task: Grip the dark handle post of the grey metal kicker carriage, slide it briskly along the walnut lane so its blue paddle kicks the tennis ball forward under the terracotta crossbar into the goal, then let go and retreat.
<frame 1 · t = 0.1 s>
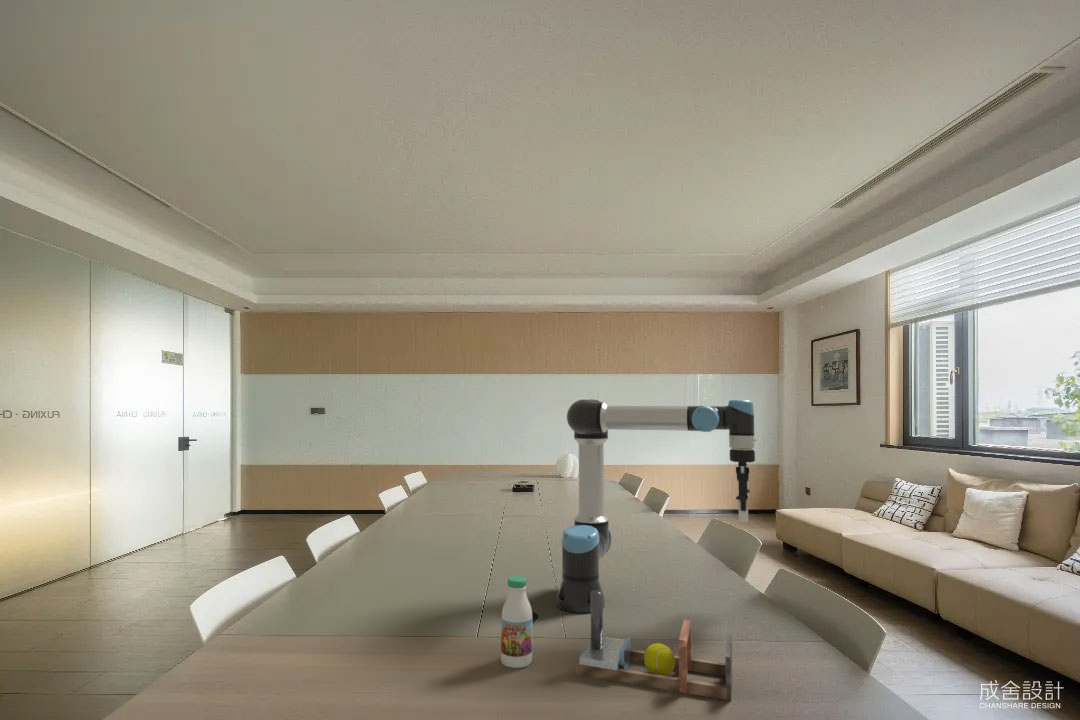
hand: (743, 517, 177), 28 cm above the table, fingers open, 13 cm apart
lane: (605, 666, 137), on the table
tennis ball: (659, 676, 133), resting in lane
milk bottle: (516, 662, 139), on the table
kicker: (606, 629, 138), point 9 cm above the table, slide at 0.0 cm
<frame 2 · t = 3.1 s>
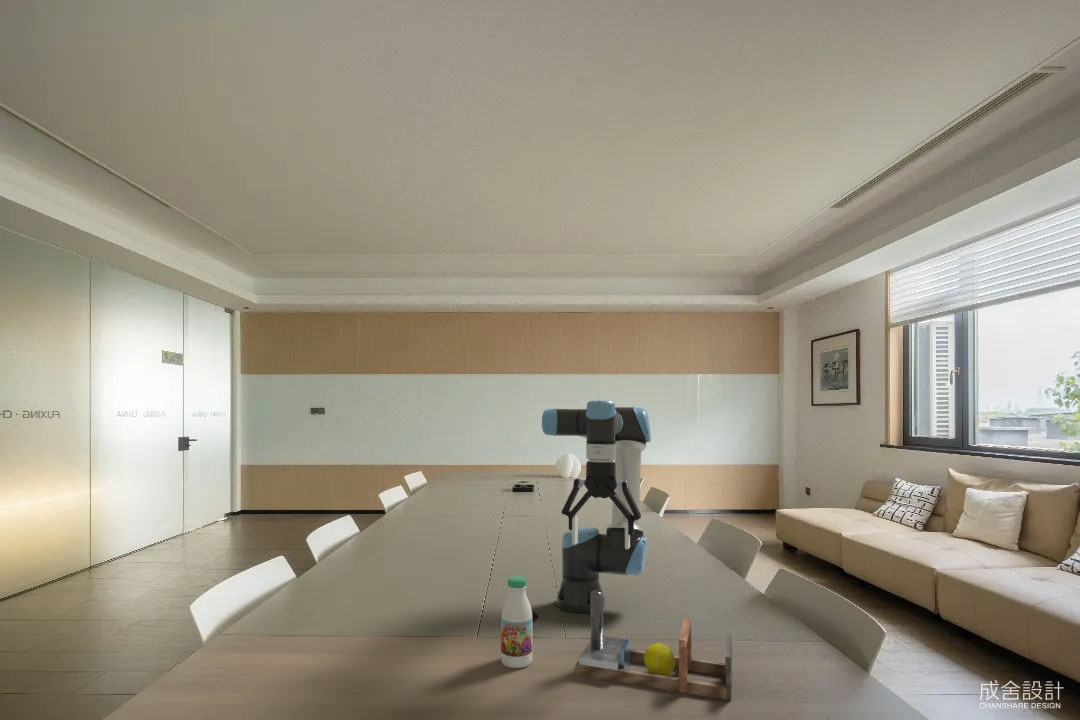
hand: (600, 545, 144), 27 cm above the table, fingers open, 13 cm apart
nothing on the table moved.
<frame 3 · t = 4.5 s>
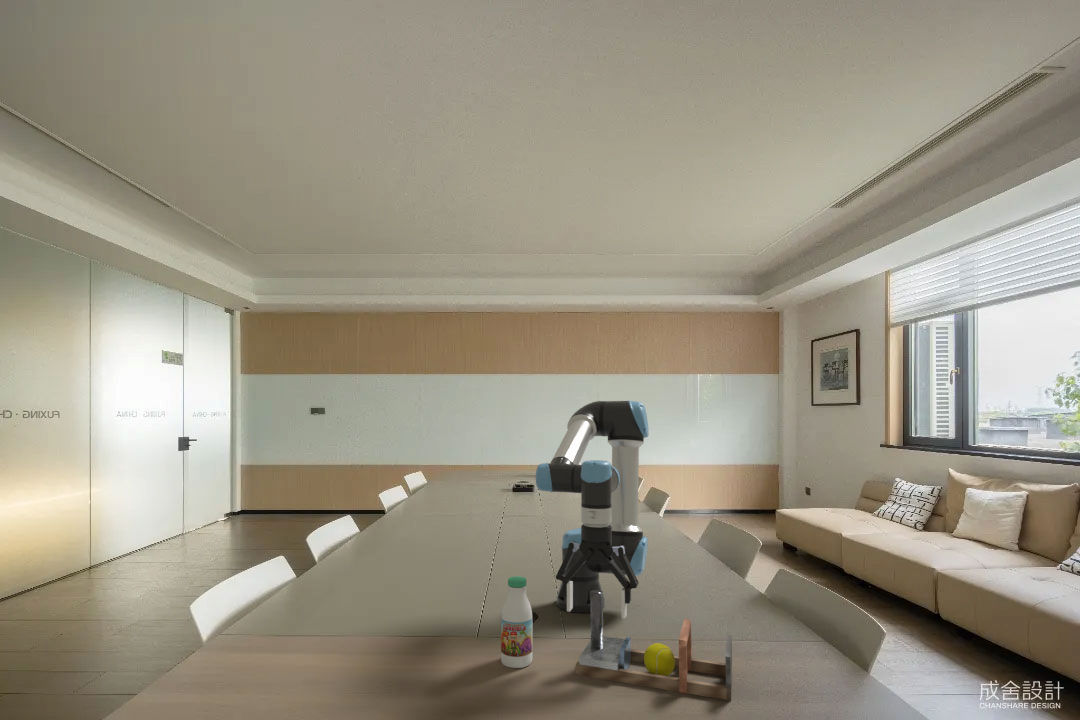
hand: (596, 613, 138), 12 cm above the table, fingers open, 13 cm apart
nothing on the table moved.
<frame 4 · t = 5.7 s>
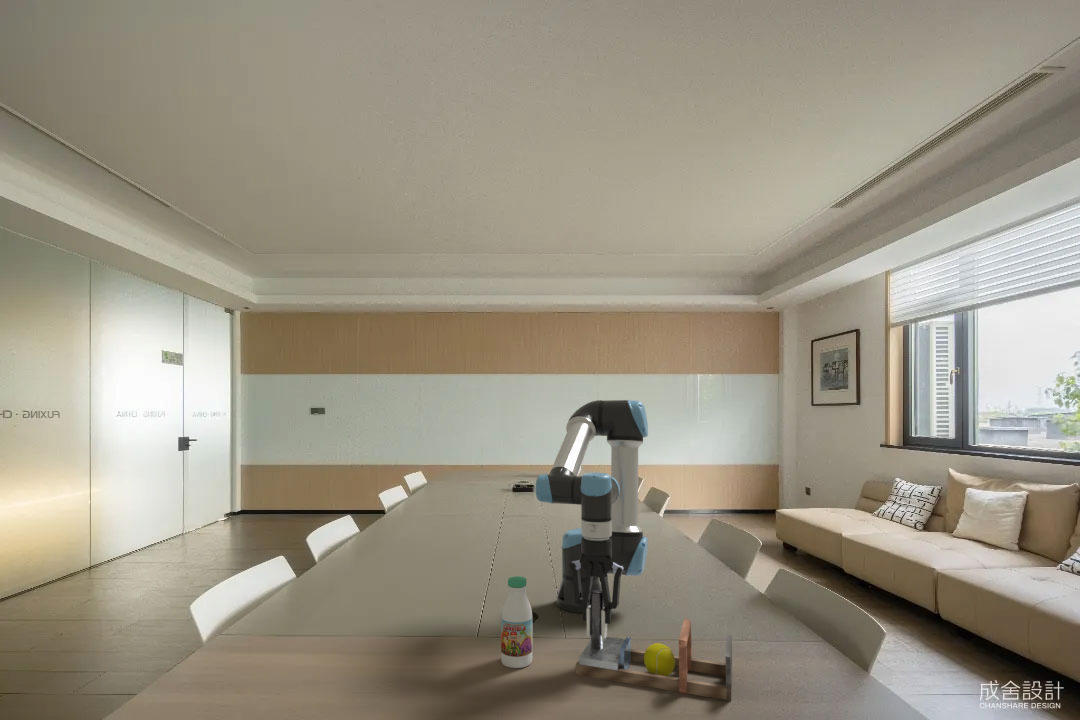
hand: (596, 635, 138), 7 cm above the table, fingers closed on kicker, 3 cm apart
kicker: (606, 629, 138), point 9 cm above the table, slide at 0.0 cm, touching gripper
everything else where it was.
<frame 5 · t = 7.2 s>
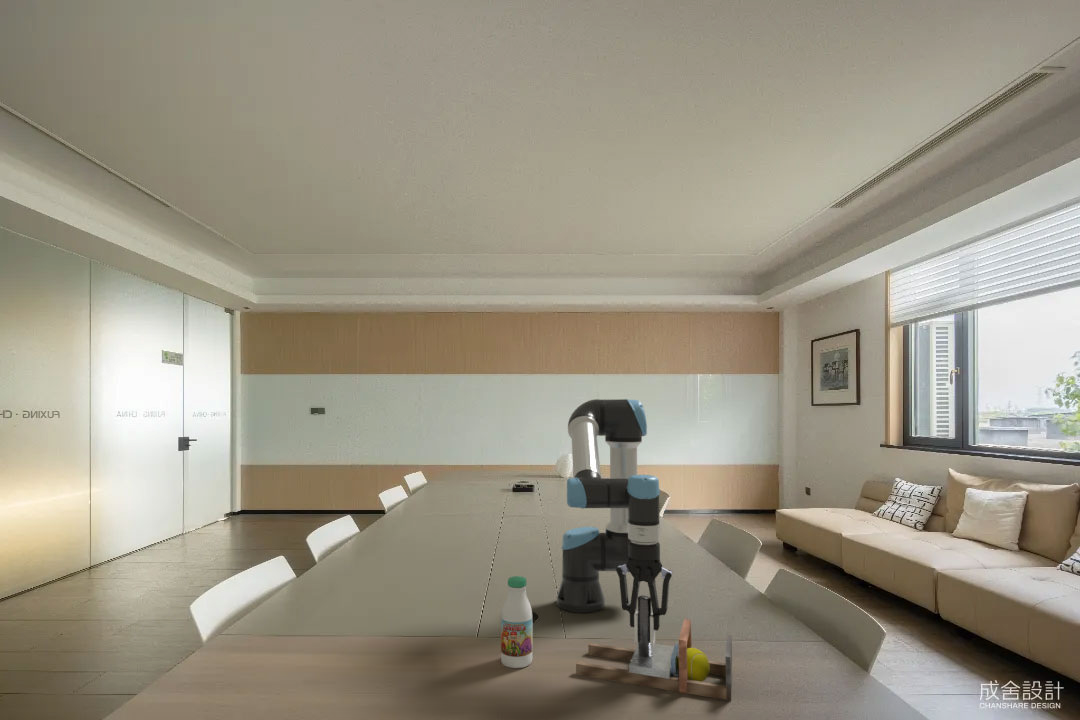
hand: (644, 642, 134), 7 cm above the table, fingers closed on kicker, 3 cm apart
tennis ball: (693, 681, 130), resting in lane, touching kicker
kicker: (655, 635, 134), point 9 cm above the table, slide at 11.6 cm, touching gripper, tennis ball
everything else where it was.
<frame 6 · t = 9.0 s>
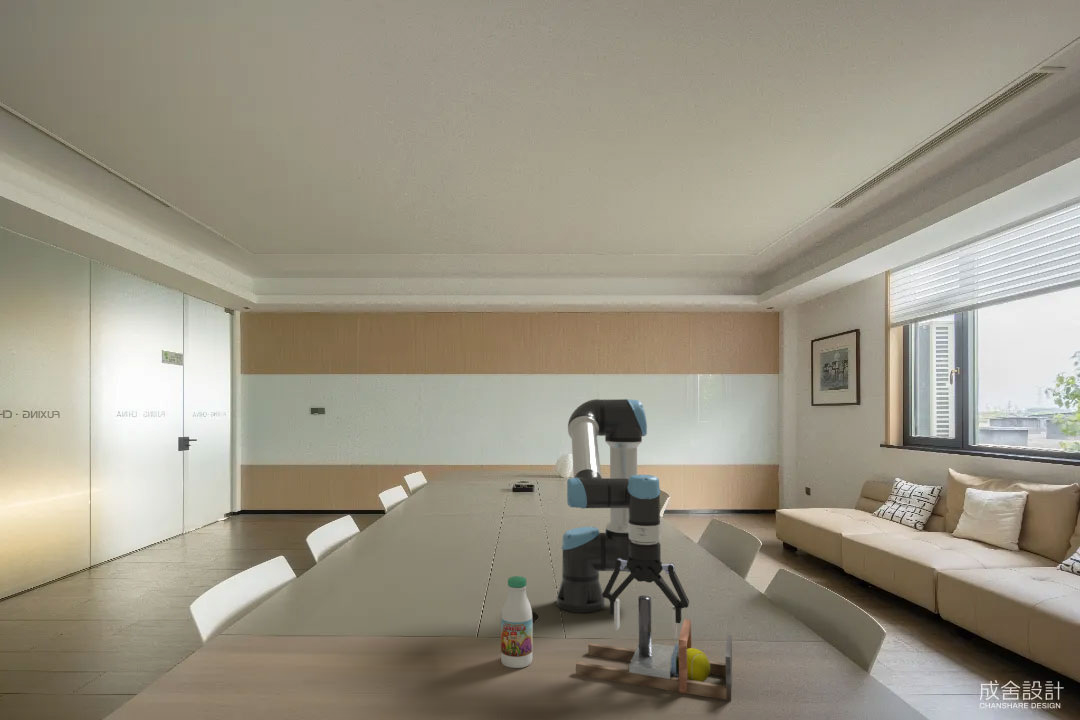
hand: (645, 632, 134), 9 cm above the table, fingers open, 13 cm apart
tennis ball: (694, 682, 130), resting in lane
kicker: (655, 635, 134), point 9 cm above the table, slide at 11.7 cm
everything else where it was.
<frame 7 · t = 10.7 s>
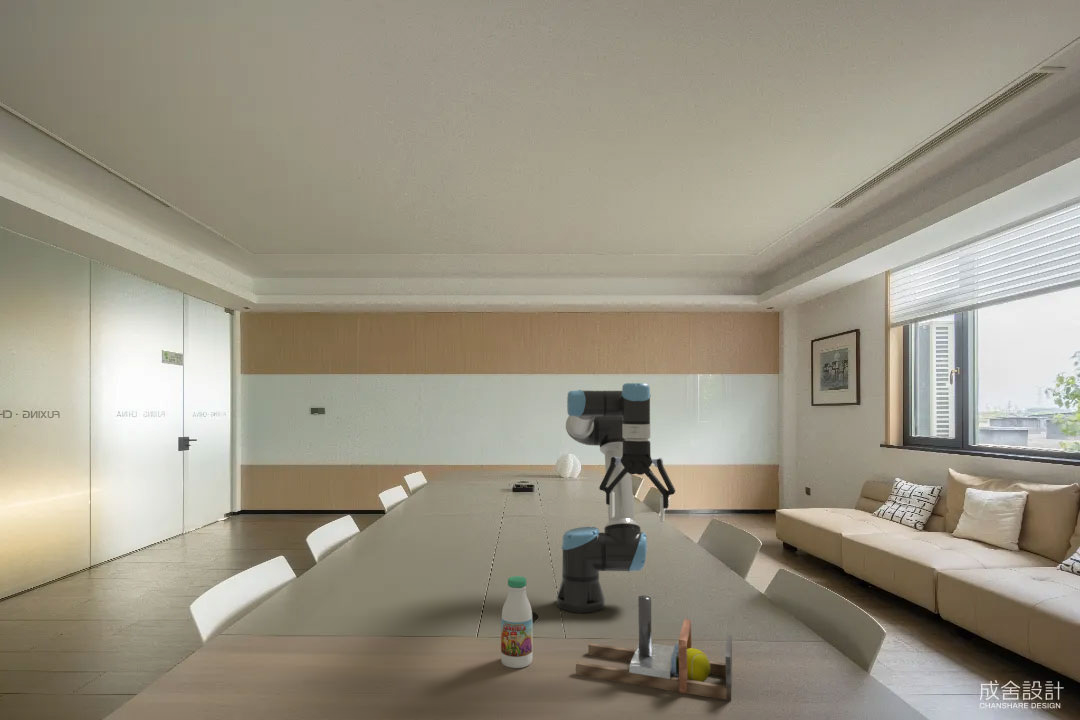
hand: (636, 518, 153), 32 cm above the table, fingers open, 13 cm apart
nothing on the table moved.
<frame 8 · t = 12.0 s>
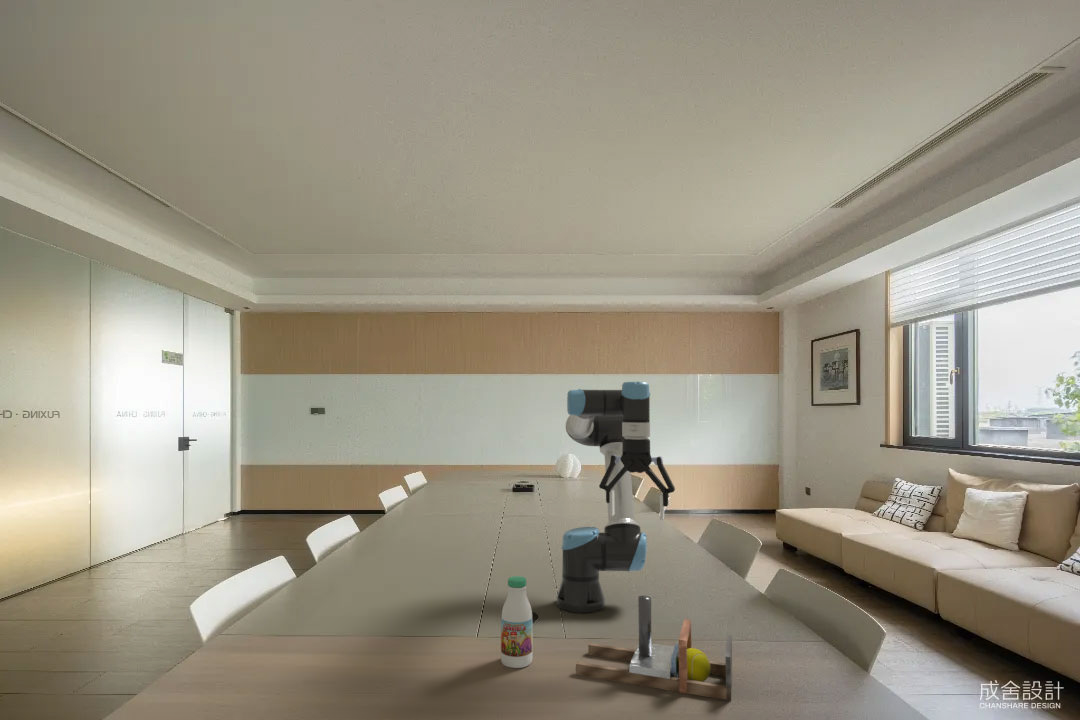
hand: (636, 517, 154), 33 cm above the table, fingers open, 13 cm apart
nothing on the table moved.
at the end: tennis ball inside the target area on the lane (2.4 cm from its centre), point 0.0 cm above the lane's base; kicker slide at 11.7 cm; the gripper is holding nothing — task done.
